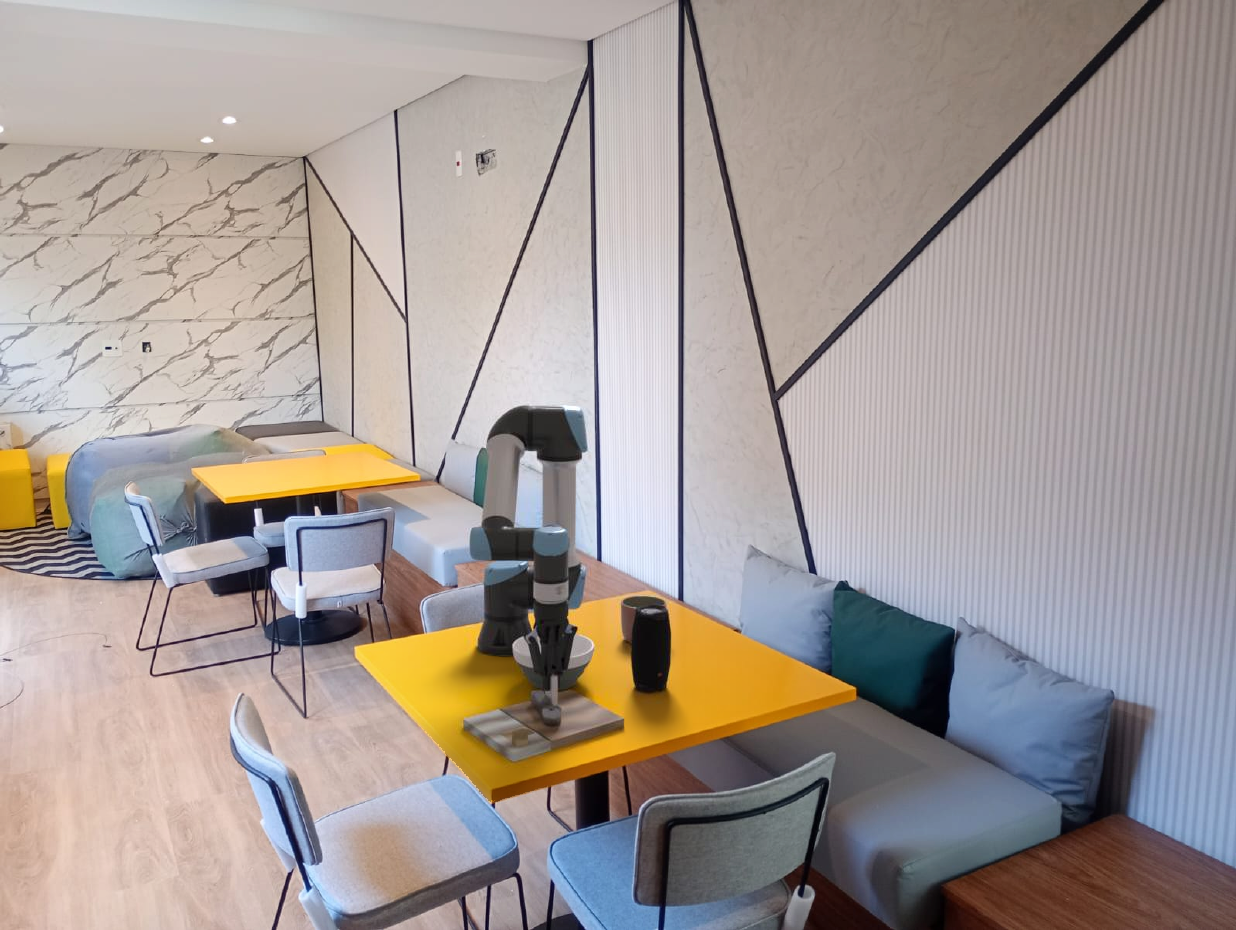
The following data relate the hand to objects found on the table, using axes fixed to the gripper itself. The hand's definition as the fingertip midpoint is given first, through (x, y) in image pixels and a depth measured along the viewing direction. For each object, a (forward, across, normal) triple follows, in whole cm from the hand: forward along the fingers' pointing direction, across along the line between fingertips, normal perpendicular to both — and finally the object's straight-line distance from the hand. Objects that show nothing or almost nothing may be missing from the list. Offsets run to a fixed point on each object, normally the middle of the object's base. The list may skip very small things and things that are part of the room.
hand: (551, 702), depth 212 cm
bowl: (+4, +12, +16) cm, 20 cm away
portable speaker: (+4, +29, 0) cm, 29 cm away
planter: (+4, +49, +27) cm, 56 cm away
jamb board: (+3, -4, -4) cm, 6 cm away
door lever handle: (+1, -3, -2) cm, 4 cm away
